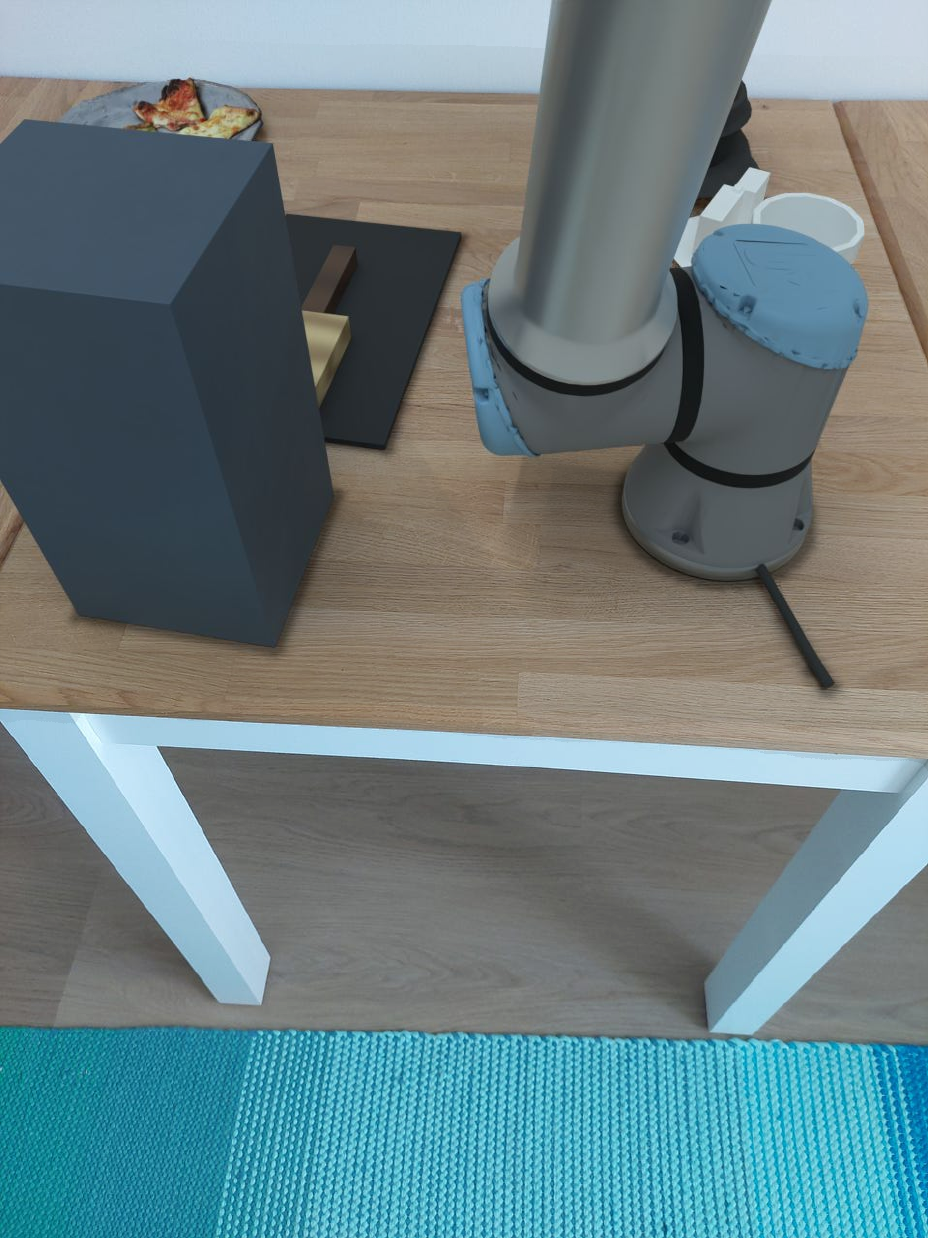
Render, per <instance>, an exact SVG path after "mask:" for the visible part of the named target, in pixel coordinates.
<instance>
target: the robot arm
mask: <svg viewBox="0 0 928 1238" xmlns="http://www.w3.org/2000/svg"><path fill="white" fill-rule="evenodd" d="M772 1H773V0H551V2H550V9H549V17H548V24H547V33H546V39H545V47H544V55H543V64H542V70H541V77H540V85H539V92H538V101H537V108H536V115H535V121H534V123H535V124H534V130H533V138H532V144H531V153H530V160H529V167H528V176H527V183H526V189H525V199H524V205H523V213H522V221H521V229H520V234H519V236H517V237H516V238H515V239H513V240H512V241H511V242H510V243H509V245H507V247H506V248H505V249H504V250H503V251H502V253H501V254H500V256H499V257H498V258H497V261H496V263H494V267H493V268H492V272H491V276H490V278H488V277H485V278H482V279H480V280H478V281H476V282H471V283H468V284H467V285H465V286H464V287H463V289H462V290H461V294H460V296H461V297H460V305H461V317H462V323H463V332H464V339H465V348H466V355H467V361H468V362H467V363H468V368H469V369H468V370H469V376H470V381H471V387H472V395H473V402H474V410H475V416H476V417H475V418H476V422H477V423H476V424H477V428H478V433H479V438H480V441H481V443H482V445H483V447H484V448H485V449H486V450H487V451H488V452H490V453H491V454H493V455H496V456H499V457H501V456H502V457H505V456H506V457H507V456H508V457H509V456H511V457H512V456H526V457H527V456H528V457H529V458H539V457H540V456H543V455H552V454H562V453H572V452H573V453H574V452H583V451H594V450H605V449H615V448H625V447H636V446H643V447H642V449H641V451H640V452H639V453H638V454H637V456H635V458H634V459H633V461H632V462H631V465H630V467H629V469H628V471H627V473H626V475H625V479H624V485H623V490H622V496H621V509H622V516H623V519H624V522H625V524H626V527H627V529H628V531H629V532H630V534H631V535H632V538H634V540H635V541H636V542H637V543H638V544H639V546H640V547H641V548H642V549H643V550H644V551H646V552H647V553H648V554H649V555H650V556H652V557H653V558H654V559H656V560H657V561H658V562H660V563H662V564H663V565H666V566H667V567H669V568H671V569H673V570H676V571H677V572H681V573H683V574H685V575H689V576H691V577H696V578H701V579H705V580H711V581H722V582H725V581H726V582H727V581H728V582H730V581H732V582H734V581H744V580H745V581H746V580H750V579H755V578H759V579H760V581H761V583H762V585H763V586H764V588H765V589H766V592H767V593H768V595H769V597H770V599H771V600H772V602H773V604H774V605H775V607H776V609H777V610H778V613H779V614H780V616H781V617H782V619H783V621H784V623H785V624H786V626H787V628H788V630H789V632H790V634H791V636H792V638H793V639H794V641H795V643H796V645H797V647H798V649H799V650H800V652H801V653H802V655H803V657H804V658H805V660H806V662H807V663H808V665H809V667H810V668H811V671H812V672H813V673H814V675H815V676H816V678H817V679H818V681H819V682H820V684H821V686H822V687H823V689H828V688H830V687H832V686H834V684H835V680H834V679H833V677H832V676H831V675H830V673H829V671H828V670H827V669H826V667H825V666H824V664H823V662H822V661H821V659H820V658H819V656H818V654H817V653H816V651H815V649H814V648H813V646H812V644H811V642H810V641H809V639H808V637H807V635H806V634H805V631H804V630H803V628H802V626H801V625H800V623H799V620H798V619H797V617H796V616H795V614H794V612H793V611H792V609H791V607H790V606H789V605H790V604H788V602H787V600H786V598H785V597H784V595H783V593H782V591H781V590H780V588H779V586H778V585H777V583H776V581H775V580H774V578H773V576H772V575H771V574H772V573H773V572H774V571H776V570H778V569H781V568H782V567H783V566H785V565H786V564H787V563H789V562H790V561H791V560H792V559H793V558H794V557H795V556H796V554H797V553H798V552H799V550H800V549H801V547H802V545H803V544H804V541H805V539H806V536H807V534H808V532H809V530H810V527H811V524H812V520H813V513H814V512H813V511H814V493H813V492H814V490H813V469H812V466H813V465H812V459H813V456H814V454H815V452H816V449H817V446H818V444H819V441H820V439H821V437H822V434H823V432H824V430H825V427H826V424H827V422H828V420H829V417H830V415H831V412H832V409H833V407H834V404H835V403H836V399H837V397H838V395H839V392H840V390H841V387H842V385H843V382H844V380H845V377H846V375H847V372H848V371H849V368H850V366H851V365H852V364H853V362H854V361H855V360H856V358H857V355H858V352H859V345H860V341H861V339H862V335H863V330H864V327H865V323H866V320H867V316H868V313H869V297H868V292H867V288H866V286H865V284H864V282H863V280H862V278H861V276H860V274H859V273H858V271H857V270H856V269H855V268H854V266H852V264H850V263H849V262H848V261H846V260H845V259H844V258H843V257H842V256H841V255H840V254H838V253H837V252H836V251H834V250H833V249H831V248H830V247H828V246H826V245H824V244H823V243H820V242H818V241H816V240H815V239H813V238H811V237H809V236H806V235H804V234H802V233H799V232H796V231H793V230H789V229H785V228H782V227H777V226H772V225H764V224H735V225H730V226H726V227H723V228H720V229H718V230H716V231H714V233H713V234H711V235H709V236H707V237H706V238H704V239H703V240H702V242H701V243H700V245H699V247H698V248H697V249H696V251H695V253H693V257H692V260H691V265H692V266H688V267H681V266H679V267H672V264H673V261H674V256H675V254H676V251H677V249H678V246H679V243H680V241H681V238H682V235H683V233H684V230H685V227H686V225H687V222H688V220H689V218H691V217H690V216H691V214H692V212H693V208H694V206H695V204H696V202H697V199H698V198H697V196H698V193H699V191H700V188H701V185H702V183H703V180H704V178H705V175H706V172H707V170H708V167H709V164H710V162H711V159H712V157H713V154H714V151H715V149H716V146H717V143H718V141H719V138H720V136H721V133H722V130H723V128H724V125H725V122H726V120H727V117H728V115H729V112H730V109H731V107H732V104H733V101H734V99H735V96H736V93H737V91H738V88H739V86H740V83H741V80H743V77H744V75H745V72H746V70H747V67H748V65H749V62H750V59H751V57H752V54H753V52H754V48H755V46H756V43H757V41H758V39H759V35H760V33H761V31H762V28H763V25H764V22H765V19H766V17H767V15H768V12H769V9H770V6H771V4H772Z"/></svg>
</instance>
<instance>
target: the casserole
mask: <svg viewBox="0 0 928 1238" xmlns="http://www.w3.org/2000/svg"><path fill="white" fill-rule="evenodd" d="M748 98H749V97H748V89H747V85H746V83H745V82H744V80H743V79H742V80H741V83H740V86H739V88H738V91H737V93H736V96H735V99H734V101H733V104H732V107H731V109H730V112H729V115H728V117H727V120H726V122H725V125H724V128H723V130H722V133H721V136H720V138H719V141H718V143H717V146H716V149H715V151H714V154H713V157H712V159H711V162H710V164H709V167H708V170H707V172H706V175H705V178H704V180H703V183H702V185H701V188H700V191H699V193H698V196H697V199H706V198H707V199H708V198H714V197H715V195H716V194H717V193H718V192H719V190H720V189H721V188H722V186H723V185H724V184H725V185H729V186H732V187H734V185H735V184H737V183H738V182H739V181H740V179H741V178H742V177H743V175H744V174H745V173H746V171H747V170H748V169H749V167H750V168H754V169H758V170H761V169H760V167H759V165H758V163H757V162H756V160H755V159H754V156H752V151H751V147H750V143H749V140H748V137H747V136H746V135H745V133H744V131H743V130H742V128H743V127H745V126H746V124H748V122H749V121H750V119H751V118H752V114H753V113H752V112H753V107H752V103H751V101H750V100H749V99H748Z"/></svg>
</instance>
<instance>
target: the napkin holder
mask: <svg viewBox="0 0 928 1238" xmlns="http://www.w3.org/2000/svg"><path fill="white" fill-rule="evenodd" d="M770 177H771V172H769V171H765V170H762V169H760V170H758V169H754V168H750V167H749V169H748V170H747V171H746V173H745V174H744V175H743V177H742V178H741V179H740V181H739V182H738V183H737V184H735V185H734V187H732V186H729V185H725V184H724V185H723V186H722V188H721V189H720V190H719V192H718V193H717V194H716V195H715V197H712V199H711V201H710V202H709V203H708V204H707V205H706V207H705V208H704V209H703V211H702V212H701V213H700V214H699V215H695V216H691V217H689V220H688V222H687V225H686V227H685V230H684V233H683V235H682V238H681V241H680V243H679V246H678V249H677V251H676V254H675V256H674V259H673V261H675V262H676V264H678V265H679V267H688V266H692V265H691V260H692V257H693V253H695V251H696V249H697V248H698V247H699V245H700V243H701V242H702V240H703V239H704V238H706V237H707V236H709V235H711V234H713V233H714V231H716V230H718V229H720V228H723V227H726V226H730V225H735V224H750V222H751V219H752V215H753V211H754V209H755V208H756V207H757V206H758V205H759V204H760V203H761V202H762V201H764V200H765V195H766V192H767V188H768V185H769V181H770Z"/></svg>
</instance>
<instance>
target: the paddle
mask: <svg viewBox="0 0 928 1238" xmlns="http://www.w3.org/2000/svg"><path fill="white" fill-rule="evenodd" d="M356 267H357V255H356V247H348V246H339V245H334V246H333V247H332V249H331V251H330V253H329V255H328V257H327V259H326V261H325V263H324V265H323V267H322V269H321V271H320V272H319V274H318V276H317V278H316V280H315V282H314V284H313V286H312V288H311V290H310V292H309V294H308V296H307V297H306V299H305V301H304V303H303V305H302V307H301V308H302V314H303V319H304V325H305V331H306V337H307V342H308V348H309V354H310V360H311V365H312V371H313V377H314V383H315V388H316V394H317V400H318V406H319V408H320V405H321V403H322V401H323V399H324V397H325V394H326V392H327V390H328V388H329V386H330V383H331V381H332V379H333V377H334V375H335V372H336V370H337V368H338V366H339V364H340V361H341V359H342V357H343V355H344V353H345V350H346V348H347V346H348V344H349V341H350V339H351V332H350V324H349V317H348V316H341V315H333V314H334V312H335V310H336V308H337V306H338V304H339V302H340V300H341V298H342V296H343V293H344V291H345V289H346V287H347V285H348V283H349V281H350V279H351V277H352V275H353V273H354V271H355V269H356Z"/></svg>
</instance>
